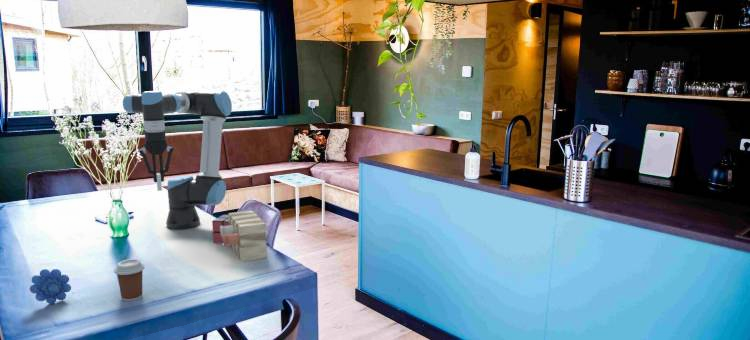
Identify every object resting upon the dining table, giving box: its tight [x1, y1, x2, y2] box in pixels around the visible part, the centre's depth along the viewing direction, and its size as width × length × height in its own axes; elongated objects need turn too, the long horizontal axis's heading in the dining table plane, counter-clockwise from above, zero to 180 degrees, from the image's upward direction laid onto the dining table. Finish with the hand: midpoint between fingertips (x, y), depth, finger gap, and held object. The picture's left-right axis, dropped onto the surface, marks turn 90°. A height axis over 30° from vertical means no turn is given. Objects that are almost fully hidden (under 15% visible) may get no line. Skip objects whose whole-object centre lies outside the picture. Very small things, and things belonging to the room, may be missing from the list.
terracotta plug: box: [222, 233, 239, 247], centre depth 219 cm, size 5×14×5 cm, turn 116°
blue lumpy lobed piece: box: [29, 268, 72, 305], centre depth 177 cm, size 12×7×12 cm, turn 136°
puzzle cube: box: [211, 214, 229, 244], centre depth 240 cm, size 10×10×10 cm
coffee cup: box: [113, 258, 145, 302], centre depth 182 cm, size 9×9×12 cm
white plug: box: [220, 225, 233, 237], centre depth 230 cm, size 5×14×5 cm, turn 116°
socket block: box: [227, 210, 268, 262], centre depth 226 cm, size 22×10×14 cm, turn 26°
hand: (159, 189), depth 220 cm, fingers closed
